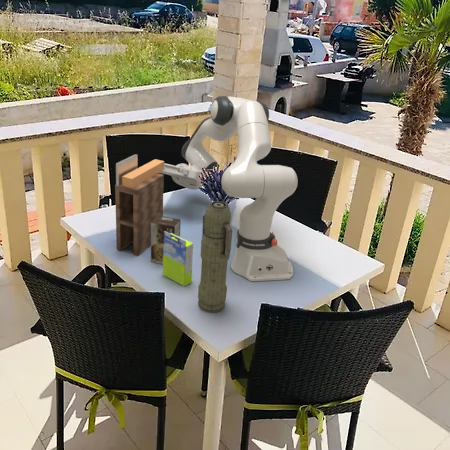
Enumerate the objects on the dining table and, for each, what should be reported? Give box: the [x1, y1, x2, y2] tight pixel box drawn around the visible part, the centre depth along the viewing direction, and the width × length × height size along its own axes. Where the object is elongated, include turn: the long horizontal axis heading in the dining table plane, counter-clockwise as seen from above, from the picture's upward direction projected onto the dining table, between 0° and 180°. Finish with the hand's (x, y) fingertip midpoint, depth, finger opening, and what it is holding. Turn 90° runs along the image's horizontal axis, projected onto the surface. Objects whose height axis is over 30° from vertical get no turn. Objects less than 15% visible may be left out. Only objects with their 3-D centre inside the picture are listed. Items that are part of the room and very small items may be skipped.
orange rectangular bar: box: [122, 158, 165, 188], centre depth 188 cm, size 22×4×4 cm, turn 156°
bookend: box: [115, 153, 139, 186], centre depth 184 cm, size 12×1×8 cm, turn 156°
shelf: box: [114, 173, 165, 257], centre depth 192 cm, size 18×9×26 cm, turn 156°
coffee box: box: [150, 215, 181, 265], centre depth 185 cm, size 9×6×16 cm
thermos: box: [197, 200, 233, 313], centre depth 158 cm, size 9×12×35 cm
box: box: [162, 231, 194, 287], centre depth 174 cm, size 10×4×17 cm, turn 51°
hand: (169, 167), depth 205 cm, fingers open, 8 cm apart
